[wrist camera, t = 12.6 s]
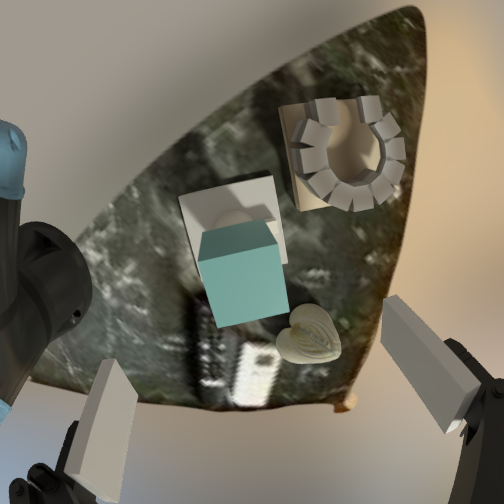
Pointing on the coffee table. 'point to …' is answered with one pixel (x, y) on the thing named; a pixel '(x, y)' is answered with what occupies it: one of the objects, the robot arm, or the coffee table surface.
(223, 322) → the plug
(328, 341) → the seashell
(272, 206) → the mat
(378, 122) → the socket
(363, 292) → the coffee table surface
